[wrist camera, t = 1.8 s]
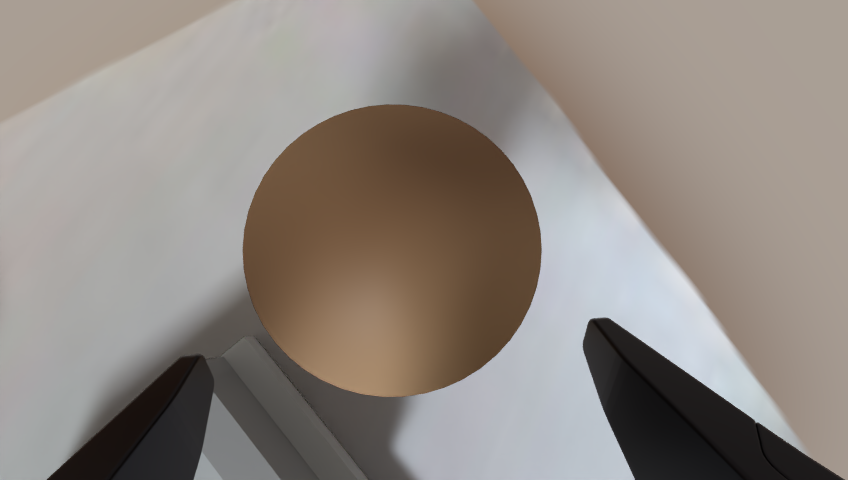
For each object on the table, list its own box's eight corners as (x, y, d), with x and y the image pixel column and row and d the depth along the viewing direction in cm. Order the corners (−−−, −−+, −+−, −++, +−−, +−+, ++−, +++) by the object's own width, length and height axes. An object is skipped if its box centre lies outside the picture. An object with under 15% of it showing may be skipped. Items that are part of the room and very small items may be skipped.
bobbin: (472, 302, 20) (601, 254, 7) (394, 374, 19) (376, 469, 6) (405, 226, 20) (409, 54, 8) (325, 293, 19) (180, 225, 7)
